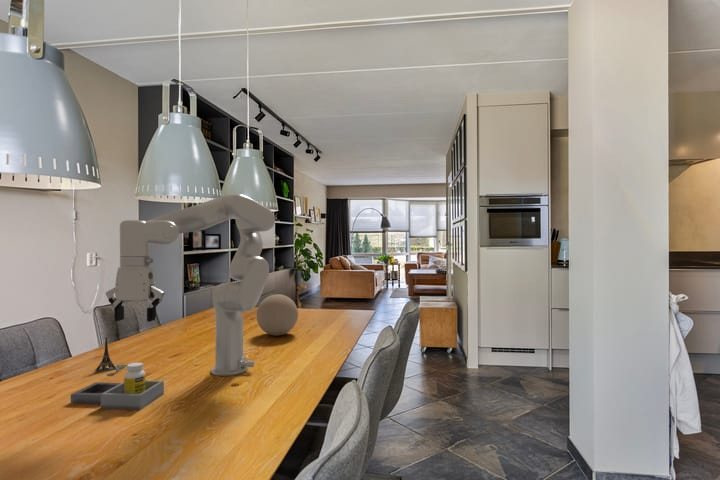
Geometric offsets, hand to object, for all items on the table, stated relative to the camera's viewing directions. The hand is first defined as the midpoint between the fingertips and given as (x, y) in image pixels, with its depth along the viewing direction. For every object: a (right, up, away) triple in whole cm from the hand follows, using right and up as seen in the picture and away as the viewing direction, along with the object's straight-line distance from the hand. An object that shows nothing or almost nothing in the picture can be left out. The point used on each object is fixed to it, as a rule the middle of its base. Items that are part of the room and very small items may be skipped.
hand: (135, 320), depth 120 cm
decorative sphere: (+25, -23, +81) cm, 88 cm away
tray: (0, -23, -1) cm, 23 cm away
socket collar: (-12, -23, +2) cm, 26 cm away
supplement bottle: (0, -23, -1) cm, 23 cm away
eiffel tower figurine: (-25, -24, +28) cm, 45 cm away
